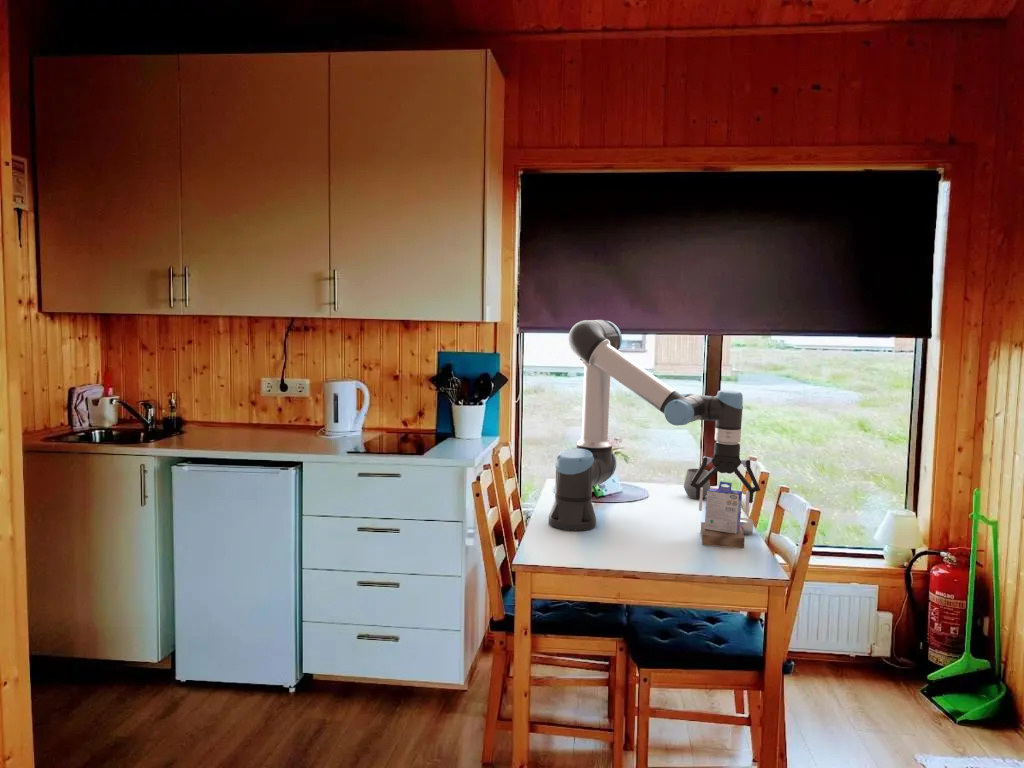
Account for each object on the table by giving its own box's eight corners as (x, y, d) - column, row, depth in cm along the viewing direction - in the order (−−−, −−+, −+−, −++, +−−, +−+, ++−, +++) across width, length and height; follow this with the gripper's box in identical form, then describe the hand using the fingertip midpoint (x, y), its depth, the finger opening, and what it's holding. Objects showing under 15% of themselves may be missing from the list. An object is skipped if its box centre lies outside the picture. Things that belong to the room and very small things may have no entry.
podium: (702, 544, 238) (702, 534, 238) (700, 531, 252) (701, 522, 251) (744, 548, 236) (744, 538, 235) (740, 534, 249) (740, 525, 249)
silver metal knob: (733, 534, 250) (734, 522, 249) (732, 529, 255) (732, 516, 255) (753, 536, 248) (754, 523, 248) (751, 530, 254) (752, 518, 254)
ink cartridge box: (740, 530, 244) (743, 483, 242) (737, 534, 239) (740, 487, 237) (707, 525, 248) (710, 479, 246) (704, 529, 243) (706, 482, 241)
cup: (678, 494, 298) (680, 468, 297) (700, 493, 301) (702, 467, 300) (691, 501, 290) (693, 474, 288) (714, 499, 292) (716, 473, 291)
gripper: (685, 441, 239) (681, 511, 241) (772, 447, 234) (767, 518, 237) (684, 437, 246) (681, 505, 249) (769, 442, 242) (764, 511, 244)
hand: (723, 511), depth 243 cm, fingers open, 13 cm apart
